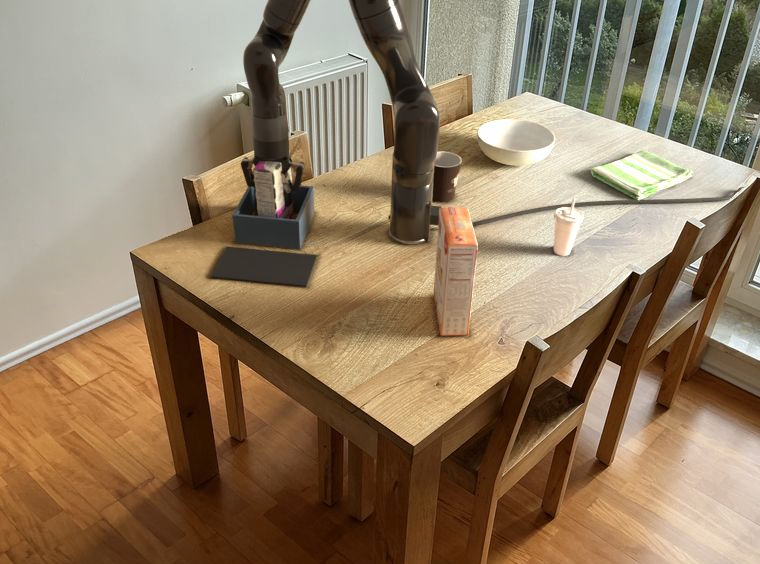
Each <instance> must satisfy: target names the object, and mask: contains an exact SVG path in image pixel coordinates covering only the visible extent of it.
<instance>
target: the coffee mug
mask: <svg viewBox="0 0 760 564" xmlns="http://www.w3.org/2000/svg"><path fill="white" fill-rule="evenodd" d="M462 162H463V158H462V157H461V156H459V155H458V154H456V153H453V152H450V151H441V150H439V151H437V157H436V160H435V167H434V181H433V202H436V203H443V204H444V203H449V202H451V201H453V200H454V199H455V193H456V189H457V184H458V181H459V175H460V171H461V166H462Z"/></svg>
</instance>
